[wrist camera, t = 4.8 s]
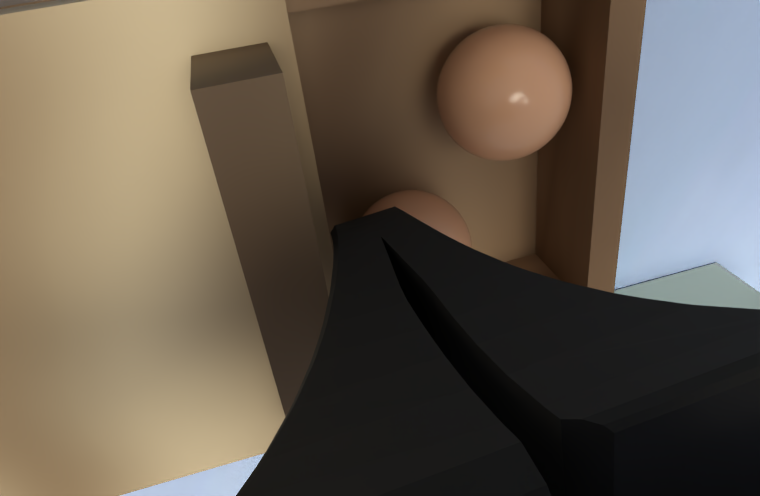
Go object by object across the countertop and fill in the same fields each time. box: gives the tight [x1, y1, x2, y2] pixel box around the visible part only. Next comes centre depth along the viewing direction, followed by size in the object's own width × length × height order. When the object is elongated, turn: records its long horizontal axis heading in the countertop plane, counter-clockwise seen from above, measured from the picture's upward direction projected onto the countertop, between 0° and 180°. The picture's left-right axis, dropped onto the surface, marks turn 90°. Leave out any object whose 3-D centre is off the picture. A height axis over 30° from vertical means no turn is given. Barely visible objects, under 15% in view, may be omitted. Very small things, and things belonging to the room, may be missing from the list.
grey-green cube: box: [614, 262, 760, 309], centre depth 20 cm, size 6×6×6 cm
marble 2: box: [437, 24, 572, 161], centre depth 14 cm, size 3×3×3 cm
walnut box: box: [0, 0, 646, 293], centre depth 14 cm, size 12×10×4 cm
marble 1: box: [362, 190, 472, 248], centre depth 15 cm, size 3×3×3 cm
